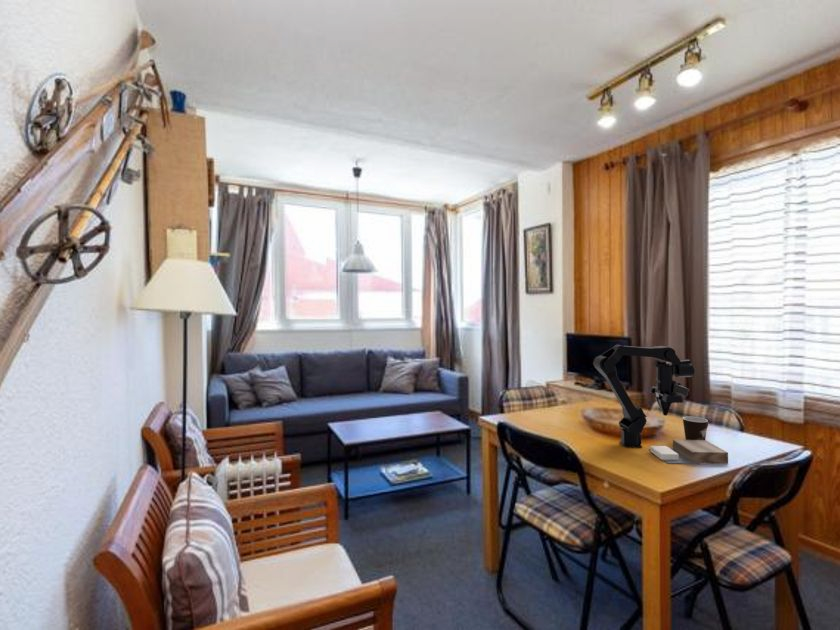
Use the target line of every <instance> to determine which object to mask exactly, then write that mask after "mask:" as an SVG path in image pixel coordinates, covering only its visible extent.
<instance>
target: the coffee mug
mask: <svg viewBox="0 0 840 630" xmlns="http://www.w3.org/2000/svg"><path fill="white" fill-rule="evenodd" d="M682 423H683V424H682V425H683V430H684V432H683V433H684V438H685V439H684V440H706V439H707V438H706V437H707V431H708V430H707V429H708V428H709V427H708V426H709V421H708V419H706V418H703V417H699V416H683V417H682Z"/></svg>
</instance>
